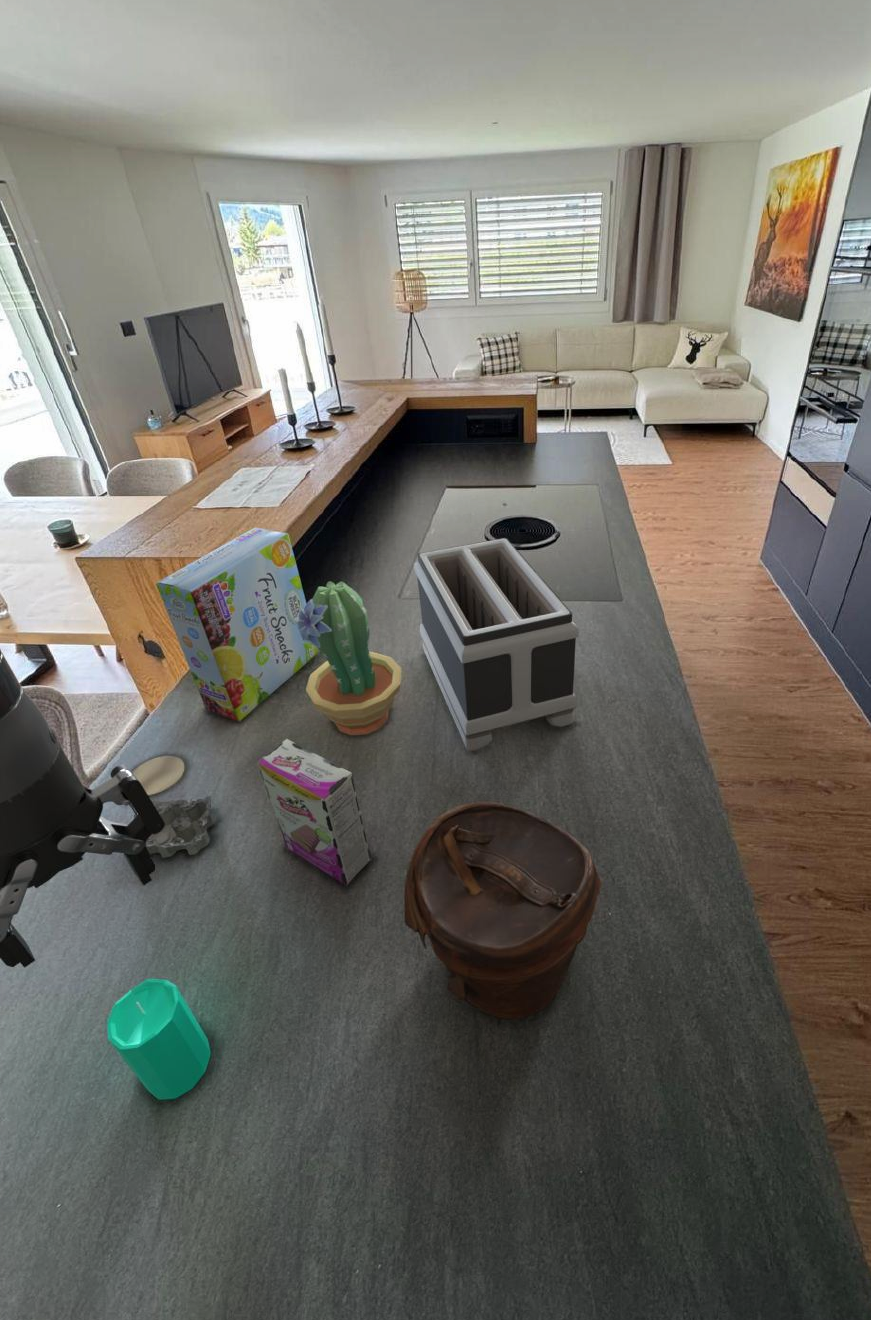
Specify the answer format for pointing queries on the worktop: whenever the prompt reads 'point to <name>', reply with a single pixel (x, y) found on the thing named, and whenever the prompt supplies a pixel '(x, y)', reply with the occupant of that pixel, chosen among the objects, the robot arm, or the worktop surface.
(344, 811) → the candy bar box
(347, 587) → the potted cactus
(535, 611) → the toaster
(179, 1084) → the candle
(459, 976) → the case
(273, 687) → the snack box
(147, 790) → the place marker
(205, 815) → the egg carton
